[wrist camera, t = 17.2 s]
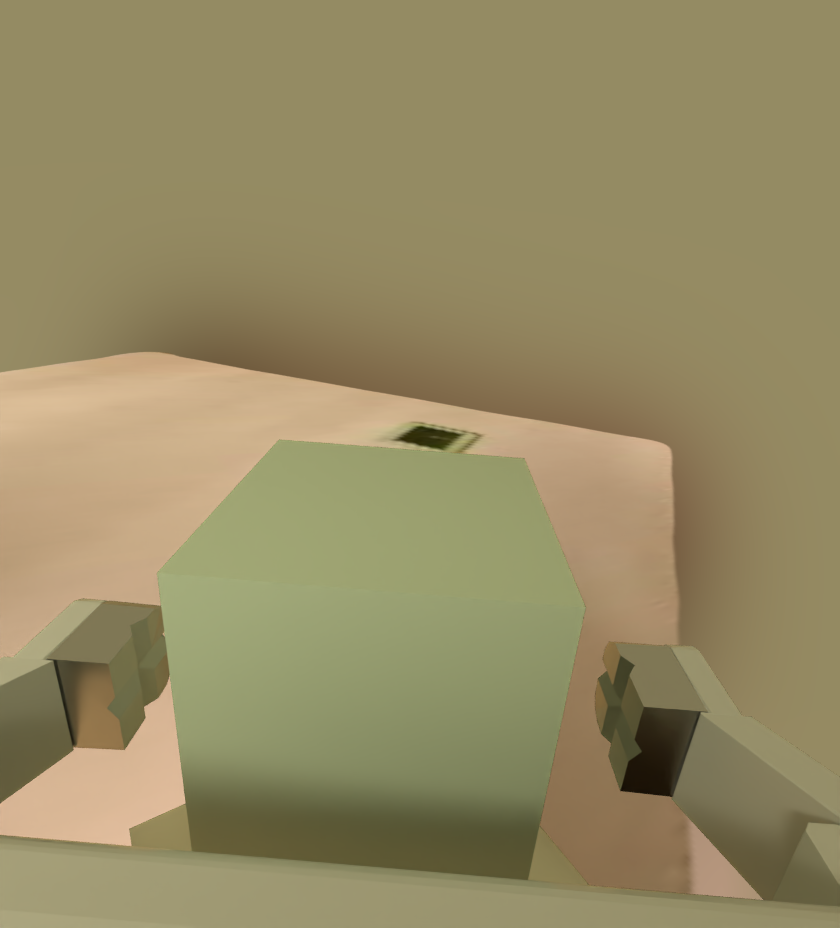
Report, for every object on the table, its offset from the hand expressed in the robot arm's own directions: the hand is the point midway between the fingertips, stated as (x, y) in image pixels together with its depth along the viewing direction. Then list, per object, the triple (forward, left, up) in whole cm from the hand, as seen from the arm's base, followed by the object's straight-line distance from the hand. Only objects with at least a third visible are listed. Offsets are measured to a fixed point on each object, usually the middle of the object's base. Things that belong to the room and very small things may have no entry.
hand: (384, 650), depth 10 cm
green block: (0, 0, -7) cm, 7 cm away
